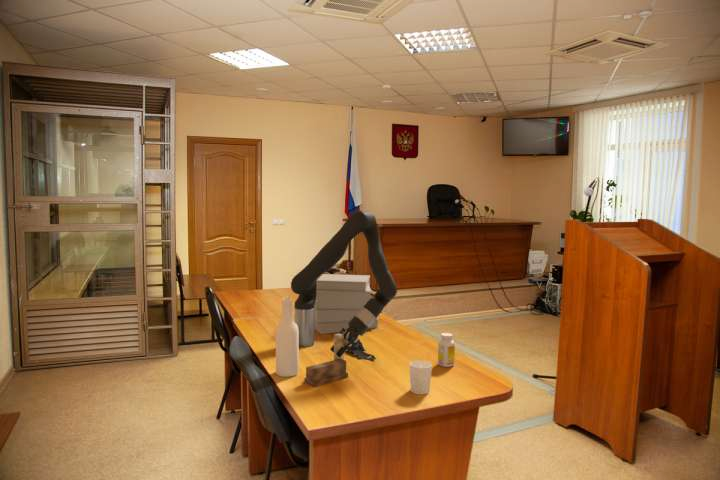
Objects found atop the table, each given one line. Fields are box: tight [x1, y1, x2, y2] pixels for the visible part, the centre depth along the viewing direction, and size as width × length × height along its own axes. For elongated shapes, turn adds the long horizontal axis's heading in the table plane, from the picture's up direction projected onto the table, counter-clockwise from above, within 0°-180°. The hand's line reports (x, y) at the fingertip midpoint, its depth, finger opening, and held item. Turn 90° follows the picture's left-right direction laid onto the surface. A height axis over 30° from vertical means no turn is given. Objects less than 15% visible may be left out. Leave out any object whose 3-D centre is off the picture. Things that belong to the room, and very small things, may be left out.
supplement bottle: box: [437, 332, 456, 368], centre depth 206 cm, size 7×7×13 cm
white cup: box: [409, 359, 433, 395], centre depth 179 cm, size 8×8×10 cm
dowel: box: [333, 333, 345, 360], centre depth 199 cm, size 4×4×14 cm
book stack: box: [314, 273, 380, 335], centre depth 262 cm, size 30×35×26 cm
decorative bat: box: [347, 340, 377, 360], centre depth 222 cm, size 30×4×10 cm
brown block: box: [303, 359, 349, 388], centre depth 189 cm, size 16×6×6 cm, turn 128°
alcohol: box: [275, 296, 300, 378], centre depth 193 cm, size 9×9×30 cm
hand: (334, 353), depth 198 cm, fingers open, 5 cm apart
